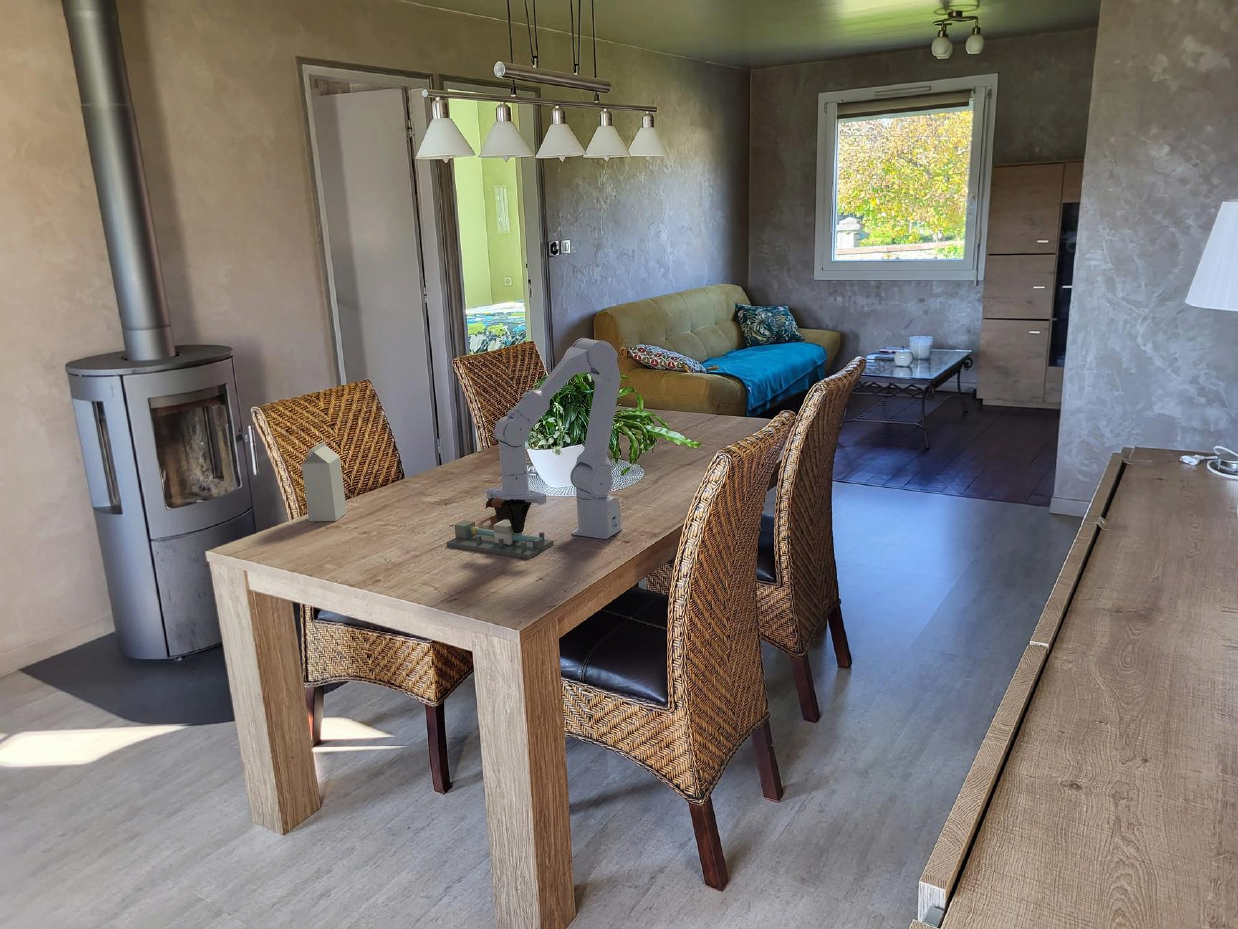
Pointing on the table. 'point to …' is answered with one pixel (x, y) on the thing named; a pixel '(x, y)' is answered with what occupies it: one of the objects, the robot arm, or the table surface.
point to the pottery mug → (496, 510)
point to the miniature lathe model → (485, 541)
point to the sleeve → (503, 531)
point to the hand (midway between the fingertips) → (518, 532)
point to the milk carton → (323, 484)
